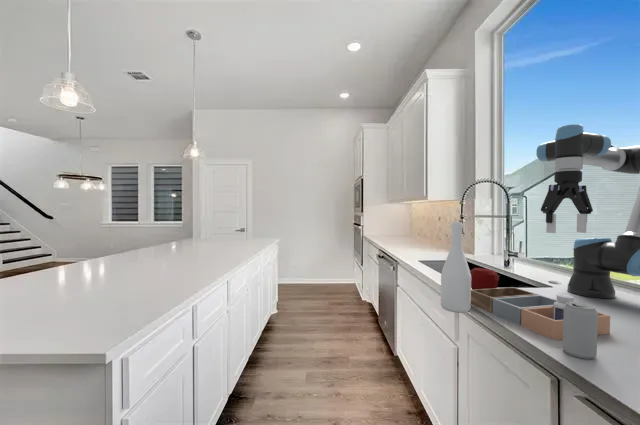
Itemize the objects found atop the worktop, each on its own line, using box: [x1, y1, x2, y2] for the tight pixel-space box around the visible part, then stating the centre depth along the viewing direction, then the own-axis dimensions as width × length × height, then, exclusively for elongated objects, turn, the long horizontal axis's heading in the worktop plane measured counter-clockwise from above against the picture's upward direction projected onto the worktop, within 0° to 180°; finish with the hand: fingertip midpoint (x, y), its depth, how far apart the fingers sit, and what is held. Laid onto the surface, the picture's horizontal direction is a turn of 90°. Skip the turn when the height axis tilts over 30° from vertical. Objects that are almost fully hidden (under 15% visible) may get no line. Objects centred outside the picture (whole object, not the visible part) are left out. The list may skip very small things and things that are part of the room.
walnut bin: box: [471, 286, 539, 314], centre depth 114 cm, size 20×11×5 cm, turn 105°
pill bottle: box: [553, 293, 575, 320], centre depth 93 cm, size 5×5×10 cm
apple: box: [470, 266, 500, 290], centre depth 127 cm, size 11×11×12 cm
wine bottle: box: [440, 221, 472, 314], centre depth 110 cm, size 10×10×30 cm
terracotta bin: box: [520, 306, 611, 341], centre depth 92 cm, size 20×11×5 cm, turn 105°
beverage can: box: [562, 301, 598, 360], centre depth 77 cm, size 6×6×12 cm
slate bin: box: [492, 294, 558, 326], centre depth 103 cm, size 20×11×5 cm, turn 105°
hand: (566, 232), depth 110 cm, fingers open, 13 cm apart
